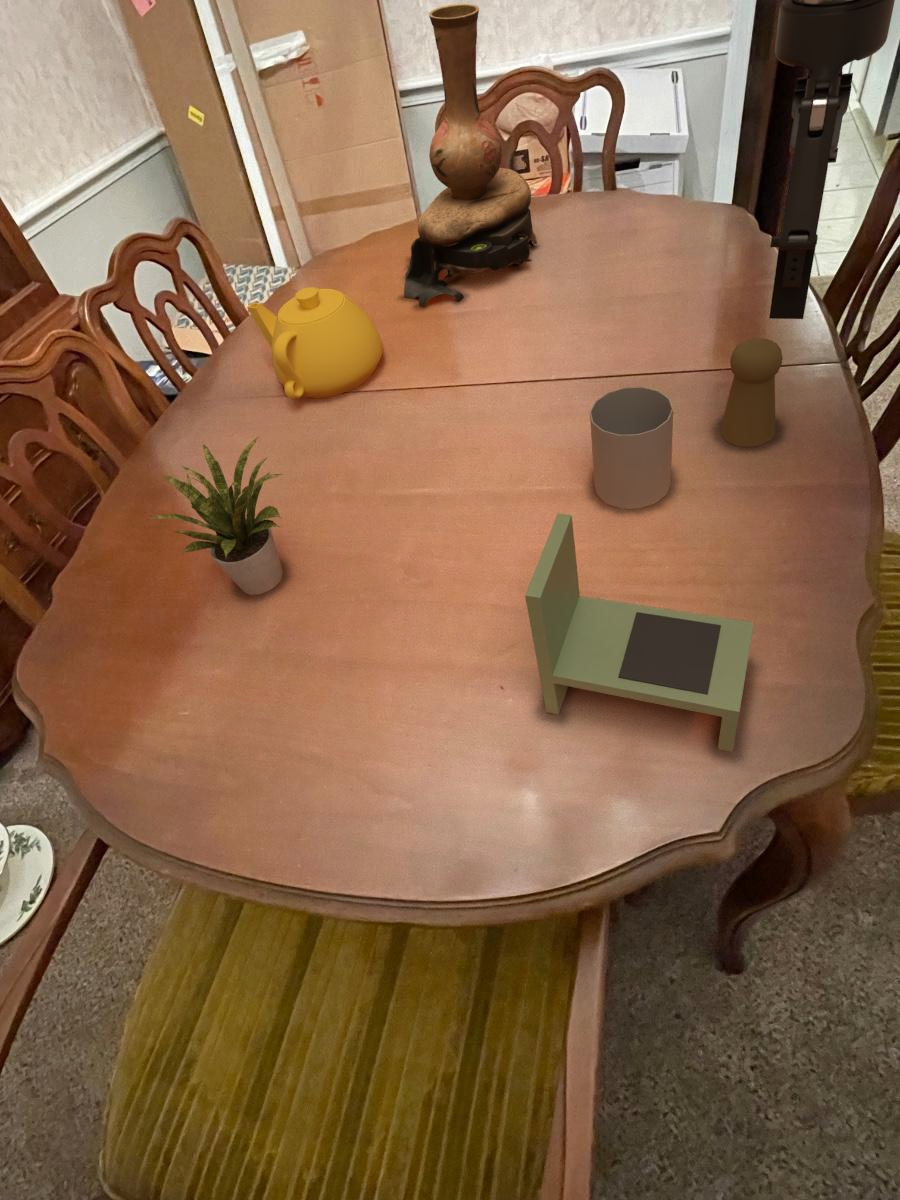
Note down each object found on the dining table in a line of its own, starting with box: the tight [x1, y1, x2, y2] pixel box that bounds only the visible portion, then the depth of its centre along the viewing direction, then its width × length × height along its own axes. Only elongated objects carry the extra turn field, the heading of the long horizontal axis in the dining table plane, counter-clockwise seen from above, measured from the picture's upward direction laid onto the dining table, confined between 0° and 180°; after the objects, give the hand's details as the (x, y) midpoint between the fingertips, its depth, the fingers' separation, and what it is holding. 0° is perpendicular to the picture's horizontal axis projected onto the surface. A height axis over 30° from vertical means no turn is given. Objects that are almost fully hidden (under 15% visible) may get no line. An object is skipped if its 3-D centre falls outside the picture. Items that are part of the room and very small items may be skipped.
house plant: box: [147, 435, 285, 596], centre depth 81 cm, size 14×14×16 cm
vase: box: [403, 3, 538, 307], centre depth 116 cm, size 24×22×35 cm
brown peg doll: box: [719, 337, 783, 448], centre depth 84 cm, size 6×6×11 cm
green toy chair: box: [524, 513, 755, 753], centre depth 62 cm, size 16×9×16 cm, turn 69°
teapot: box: [246, 286, 384, 400], centre depth 110 cm, size 20×19×13 cm
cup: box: [589, 386, 674, 510], centre depth 82 cm, size 8×8×10 cm
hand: (793, 276), depth 69 cm, fingers open, 13 cm apart
